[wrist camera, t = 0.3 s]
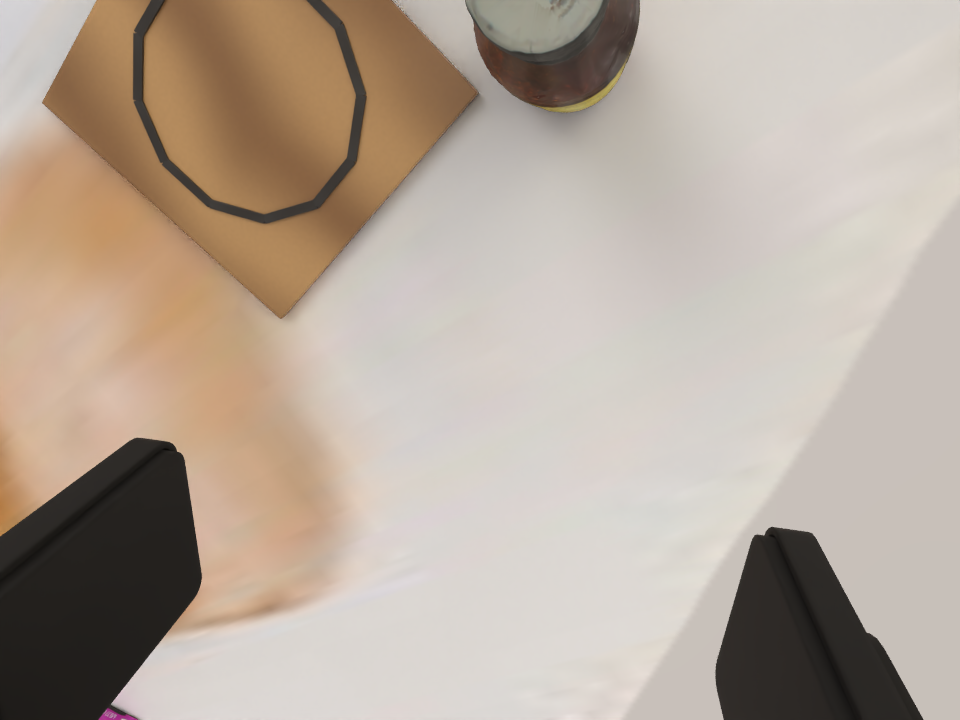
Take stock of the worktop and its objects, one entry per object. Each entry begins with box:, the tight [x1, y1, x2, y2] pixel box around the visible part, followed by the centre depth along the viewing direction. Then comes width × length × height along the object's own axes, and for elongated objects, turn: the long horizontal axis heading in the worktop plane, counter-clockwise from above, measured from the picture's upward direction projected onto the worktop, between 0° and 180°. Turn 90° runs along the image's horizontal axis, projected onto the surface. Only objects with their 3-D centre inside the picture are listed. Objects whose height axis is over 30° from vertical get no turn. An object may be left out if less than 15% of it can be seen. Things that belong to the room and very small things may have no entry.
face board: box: [42, 0, 478, 319], centre depth 37 cm, size 20×20×1 cm
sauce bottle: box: [465, 0, 640, 112], centre depth 25 cm, size 7×6×20 cm
